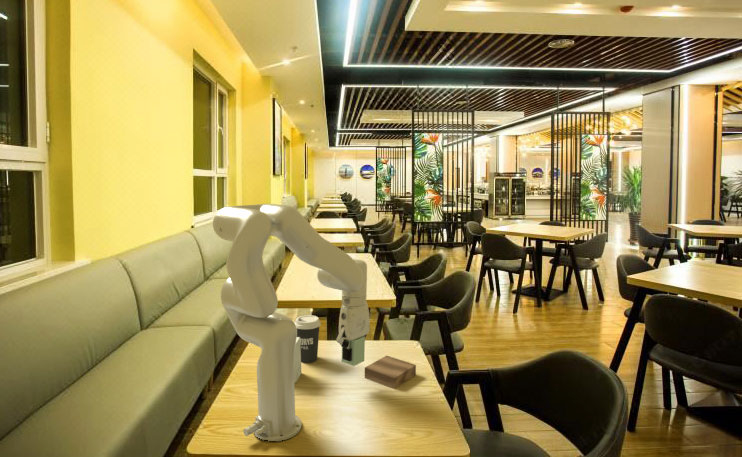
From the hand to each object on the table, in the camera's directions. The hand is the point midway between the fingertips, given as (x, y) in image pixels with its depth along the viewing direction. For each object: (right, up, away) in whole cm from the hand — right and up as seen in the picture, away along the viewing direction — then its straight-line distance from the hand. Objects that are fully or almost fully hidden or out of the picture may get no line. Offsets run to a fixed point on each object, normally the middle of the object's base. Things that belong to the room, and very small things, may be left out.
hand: (353, 356), depth 148 cm
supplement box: (-22, -9, +8) cm, 25 cm away
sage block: (0, -2, 0) cm, 2 cm away
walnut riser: (+12, -9, +9) cm, 17 cm away
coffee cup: (-17, -7, +22) cm, 29 cm away
